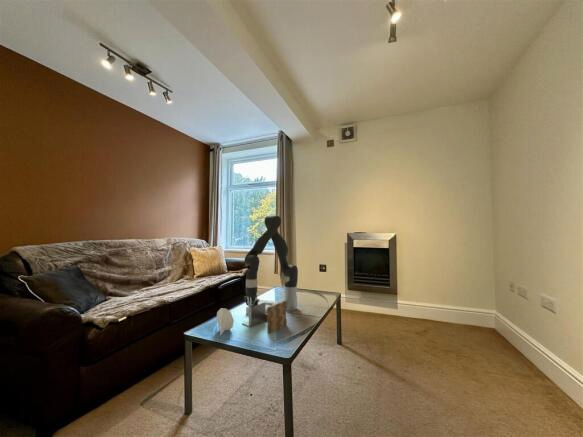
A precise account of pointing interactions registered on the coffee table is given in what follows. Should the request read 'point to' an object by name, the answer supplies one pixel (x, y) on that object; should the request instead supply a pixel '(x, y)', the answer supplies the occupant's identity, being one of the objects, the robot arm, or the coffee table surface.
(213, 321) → the coffee table surface
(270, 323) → the end panel
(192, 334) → the coffee table surface
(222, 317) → the white faceted rounded block
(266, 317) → the shelf rail
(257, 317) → the bookend
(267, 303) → the skincare box
